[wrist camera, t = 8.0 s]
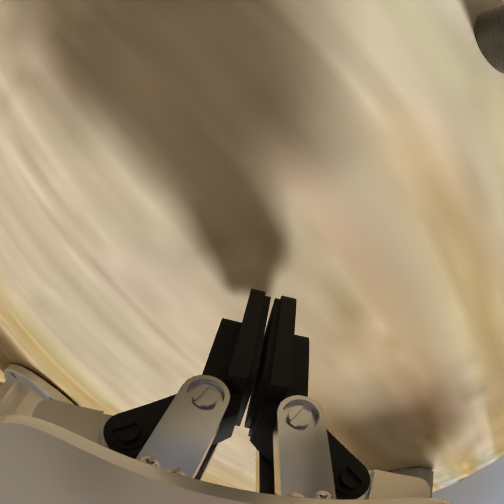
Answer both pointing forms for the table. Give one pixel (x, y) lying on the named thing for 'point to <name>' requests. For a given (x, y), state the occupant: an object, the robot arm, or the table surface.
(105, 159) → the table surface
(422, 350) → the table surface
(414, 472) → the coffeepot
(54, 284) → the table surface
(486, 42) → the post
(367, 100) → the table surface
